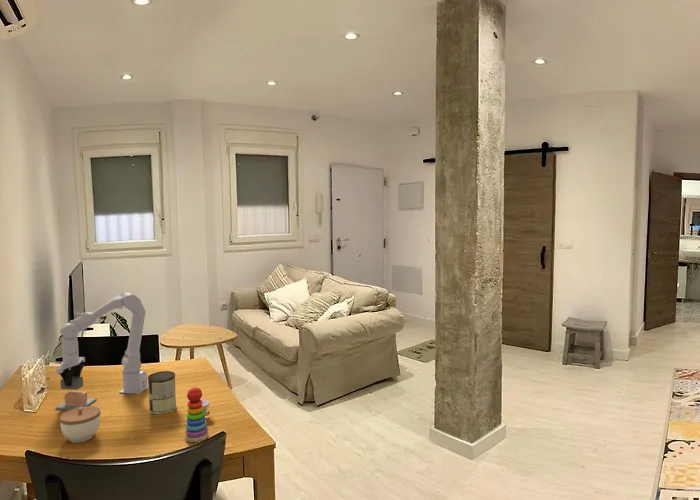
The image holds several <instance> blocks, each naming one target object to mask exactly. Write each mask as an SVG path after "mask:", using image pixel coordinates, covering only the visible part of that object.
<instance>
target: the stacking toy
mask: <svg viewBox="0 0 700 500" xmlns="http://www.w3.org/2000/svg"><path fill="white" fill-rule="evenodd" d="M202 397H203V391H202V389H201V388H199V387H196V386H195V387H194V386H193V387H191V388H190V389H188V391H187V394H186V398H187V400H189V402H188V401H187V407H188V408H187V410H186V411H187V412H186V420H185V422H186V424H185V435H184V440H185V441H186V442H188V441H189V442H188V443H191V442H196V443H201V442H203V441H205V440H206V439H207V438H208V437H209V431H208V430H209V428H208V425H207V421H206V419H207V418H205V416H204V411H203V410H204V407H203V406H202V404H203V402H202V400H200V399H202ZM202 440H203V441H202ZM200 441H201V442H200Z"/></svg>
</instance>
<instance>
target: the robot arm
mask: <svg viewBox="0 0 700 500" xmlns="http://www.w3.org/2000/svg"><path fill="white" fill-rule="evenodd" d="M124 308H126V309H127V310H129V312H130V313H132V316H131V317H132V318H131V324H130V330H129V335H128V336H129V337H128V342H127V348H126V350H125V351H124V355H123V356H122V359H121V365H122V367H123V370H122V386H123V387H122V388H123V389H121V390H120V391H118V393H120V394H135V395H136V394H137V395H138V394H141V393H142V392H144V391H145V390H147V389H149V385H148V373H147V371H145V370H142V369H141V367H142V362H141V352H140V349H141V343H142V335H143V332H144V331H143V330H144V323H145V317H146V308H145V307H144V304H143V303H142V301H141V299H140V298H139V297H138V296H136V295H135V294H133V293H132V292H129V291H124V292H122V293H121V294H117V295H116V296H114V297H113V298H111V299H110V300H109V301H106V302H105V303H104V304H102V305H101V306H99V307H98V308H96V309H95V310H93V311H91V312H90V311H86V312H83V311H82V312H81V313H80V316H77V317H76V318H74V319H71V320H69V322H66V323H64V324H63V325H62V326H61V328H60V329H59V332H60V334H61V335H62V336H61V353H62V362H60V365H59V366H58V367H56V374H59V375H60V377H61V379H63V380H64V383H65V386H71V385H72V376H76V377H81V374H82V371H83V369H84V367H85V364H84V363H85V362H86V357H85V356H79V341H78V336H79V333H81V332H82V331H85V330H86V329H88V328H89V327H91V326H93V325H94V324H95V323H96V321H97V319H99V318H101V317H102V316H105V315H106V314H107V313H109V312H111V311H113V310H115V309H117V310H118V309H119V310H120V309H122V310H123V309H124Z"/></svg>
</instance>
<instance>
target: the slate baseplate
mask: <svg viewBox="0 0 700 500" xmlns="http://www.w3.org/2000/svg"><path fill="white" fill-rule="evenodd" d="M97 400H98V398H93V397H92V398H91V397H87V402H85V403H83V404H82V405H69V404H65V401H64V402H62V403H60V404H59V405H57V406H56V407H55V410H65V411H68V410H71V409H74V408H78V407H83V406H91V405H92V404H93V403H95V402H97Z"/></svg>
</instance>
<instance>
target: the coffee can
mask: <svg viewBox="0 0 700 500" xmlns="http://www.w3.org/2000/svg"><path fill="white" fill-rule="evenodd" d="M147 385H148V401H149V403H148V404H149V410H148V411H149V413H150V414H153V415H163V414H162V413H164V414H168V413H170V411H171V412H173V411H174V410H176V408H177V401H176V396H177V395H176V373H175V372H174V371H171V370H162V371H156V372H154V373H151V374H149V375H147ZM175 407H176V408H175ZM172 410H173V411H172ZM167 412H168V413H167Z"/></svg>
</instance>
